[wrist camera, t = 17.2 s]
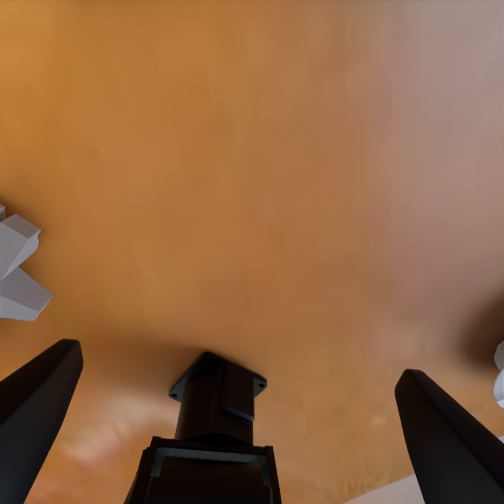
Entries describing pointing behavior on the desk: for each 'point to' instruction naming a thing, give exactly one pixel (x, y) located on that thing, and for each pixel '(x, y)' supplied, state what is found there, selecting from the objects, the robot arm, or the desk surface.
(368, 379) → the desk surface
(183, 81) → the desk surface
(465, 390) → the desk surface
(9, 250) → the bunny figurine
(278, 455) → the desk surface
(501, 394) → the white stemmed stand
